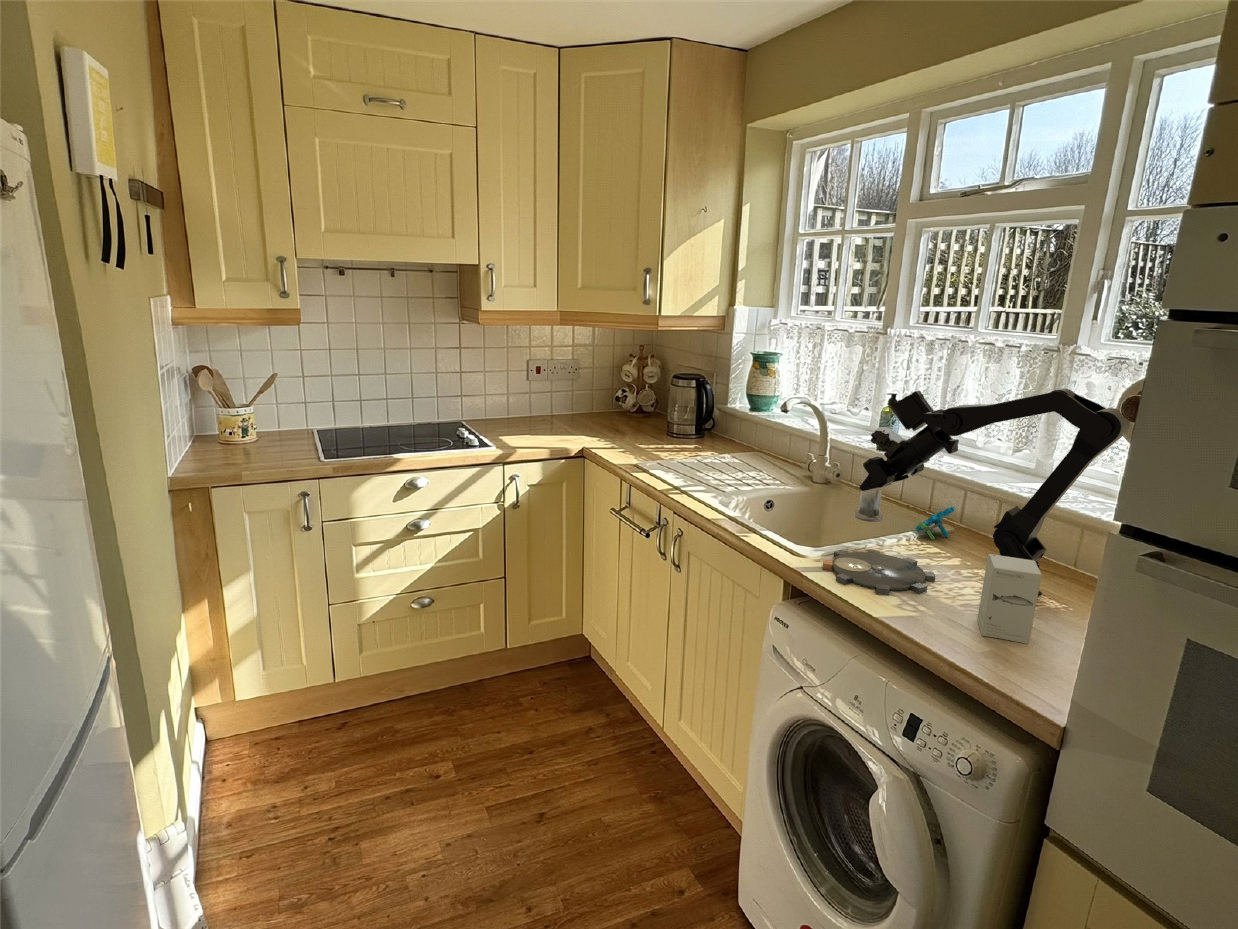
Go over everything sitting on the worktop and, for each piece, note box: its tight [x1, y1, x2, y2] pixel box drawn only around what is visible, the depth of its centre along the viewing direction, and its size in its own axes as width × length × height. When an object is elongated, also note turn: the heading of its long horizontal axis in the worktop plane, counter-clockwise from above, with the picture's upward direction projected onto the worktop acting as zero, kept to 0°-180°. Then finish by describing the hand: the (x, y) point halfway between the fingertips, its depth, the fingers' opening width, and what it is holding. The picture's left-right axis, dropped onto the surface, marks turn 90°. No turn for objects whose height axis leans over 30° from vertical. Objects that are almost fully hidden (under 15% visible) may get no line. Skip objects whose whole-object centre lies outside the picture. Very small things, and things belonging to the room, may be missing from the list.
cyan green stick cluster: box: [915, 505, 956, 541], centre depth 172 cm, size 11×6×10 cm
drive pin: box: [854, 466, 884, 523], centre depth 162 cm, size 6×6×12 cm
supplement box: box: [976, 553, 1043, 645], centre depth 123 cm, size 7×7×13 cm
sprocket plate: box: [822, 549, 936, 596], centre depth 149 cm, size 22×22×1 cm
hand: (866, 487), depth 162 cm, fingers closed on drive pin, 4 cm apart
